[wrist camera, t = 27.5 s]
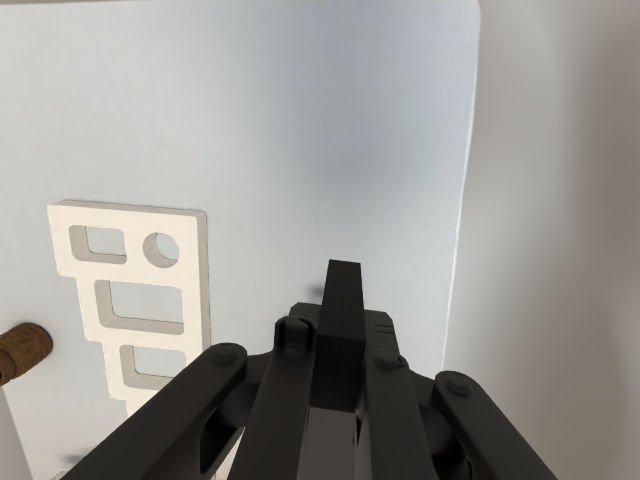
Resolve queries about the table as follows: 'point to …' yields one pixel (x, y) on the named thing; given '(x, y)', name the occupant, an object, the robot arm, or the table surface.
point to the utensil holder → (22, 350)
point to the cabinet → (329, 446)
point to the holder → (135, 268)
